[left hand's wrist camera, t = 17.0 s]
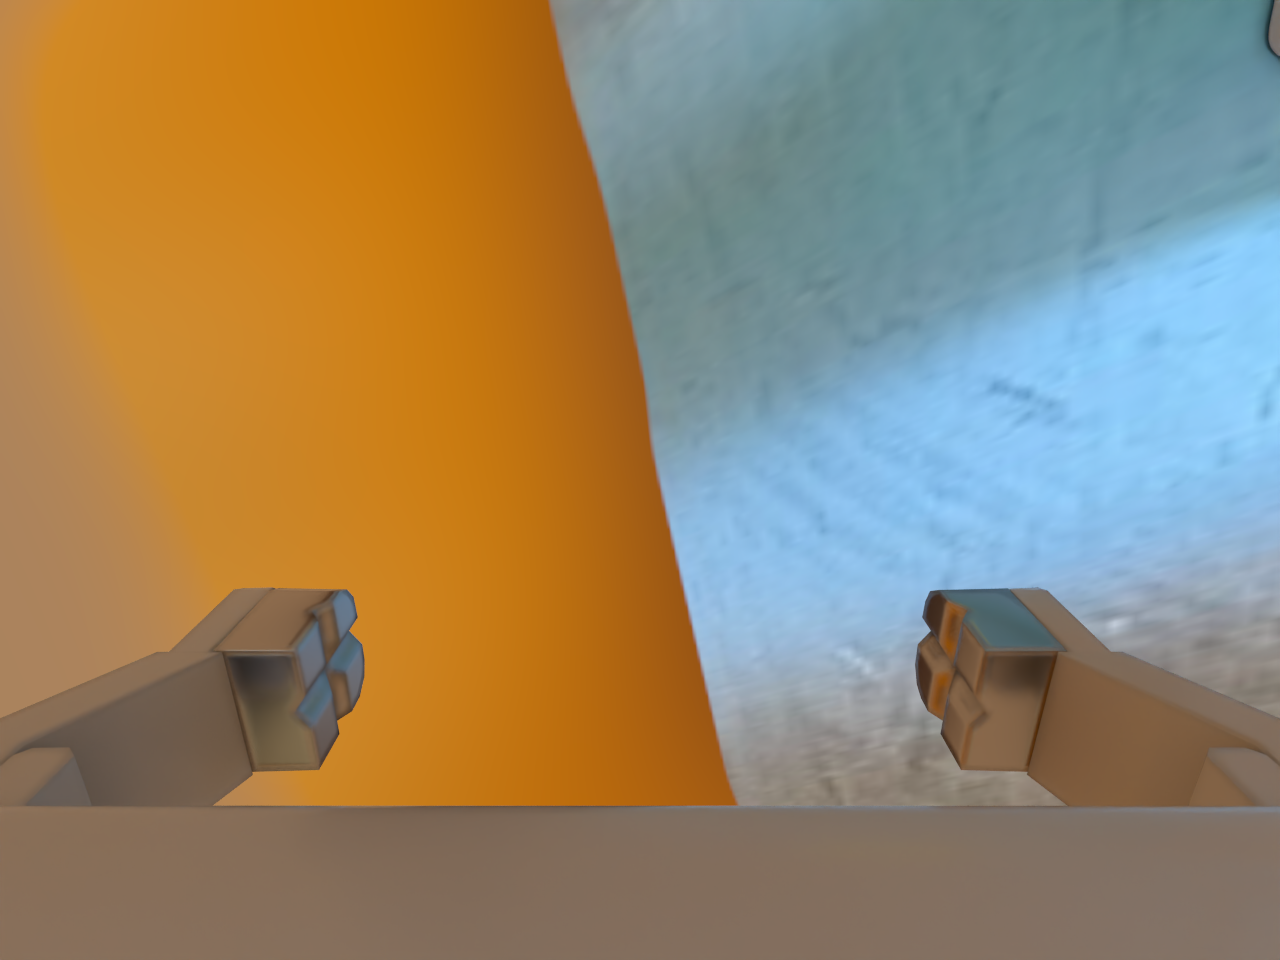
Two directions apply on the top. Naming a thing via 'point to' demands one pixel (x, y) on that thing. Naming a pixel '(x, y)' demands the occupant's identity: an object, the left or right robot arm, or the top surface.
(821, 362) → the top surface
